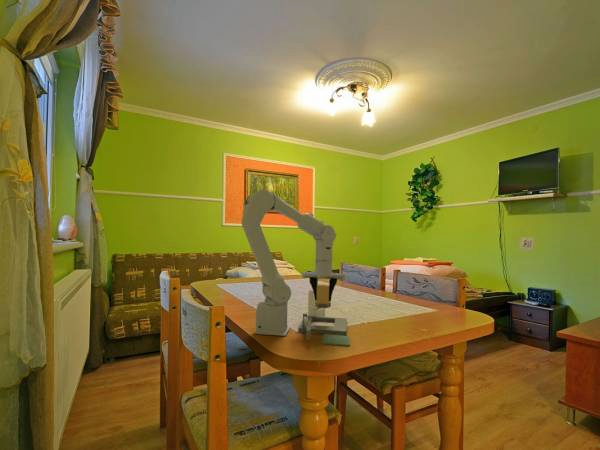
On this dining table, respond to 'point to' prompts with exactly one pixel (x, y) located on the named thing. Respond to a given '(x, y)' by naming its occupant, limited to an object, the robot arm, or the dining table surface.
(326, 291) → the plug
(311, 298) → the white wedge bracket
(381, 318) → the dining table surface
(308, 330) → the retaining bar
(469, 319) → the dining table surface
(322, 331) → the dock plate
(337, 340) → the pad
